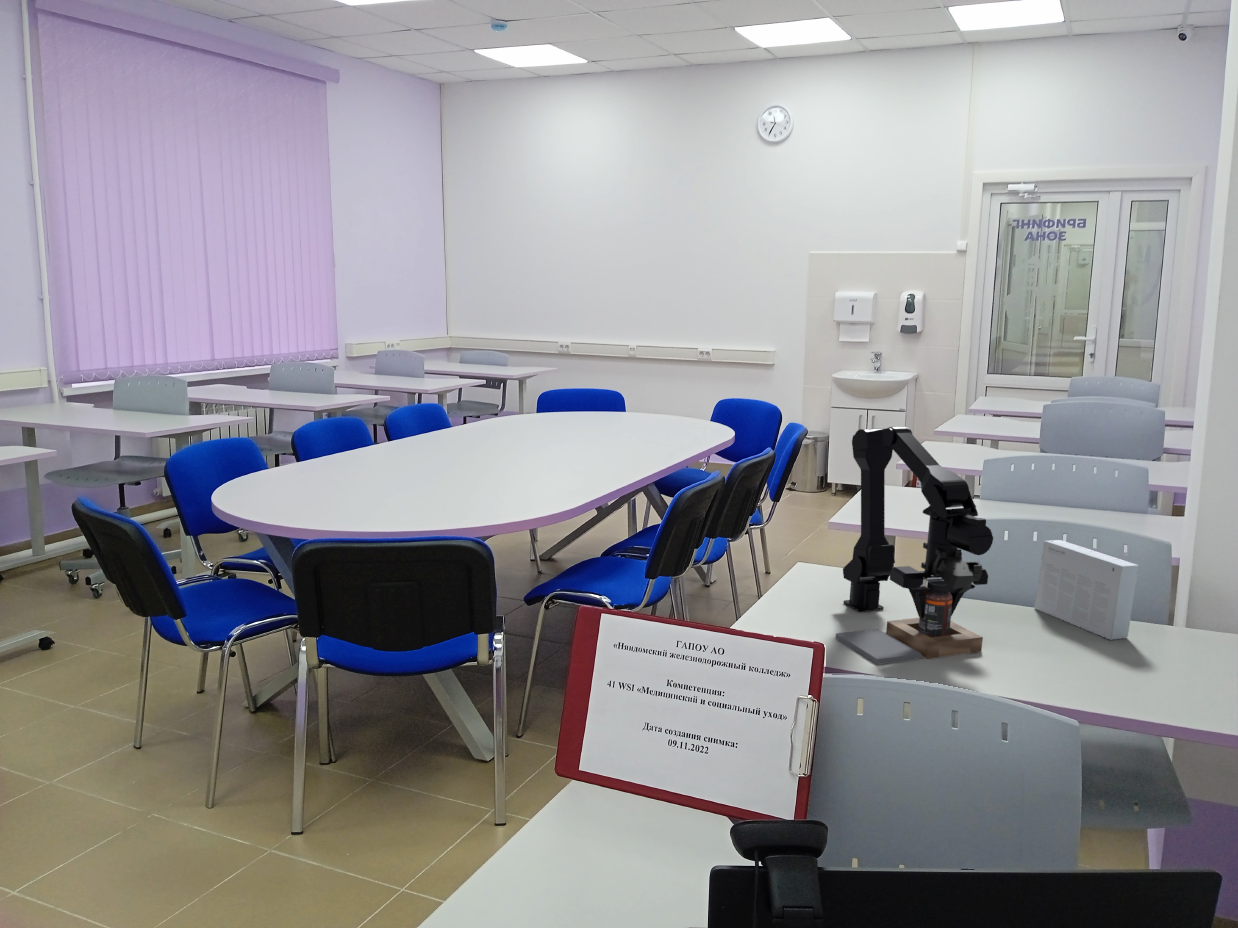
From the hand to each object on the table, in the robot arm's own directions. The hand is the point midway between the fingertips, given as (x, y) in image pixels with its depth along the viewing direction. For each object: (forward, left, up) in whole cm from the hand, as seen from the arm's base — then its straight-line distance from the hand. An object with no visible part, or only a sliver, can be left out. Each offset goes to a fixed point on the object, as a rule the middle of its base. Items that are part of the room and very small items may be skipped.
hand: (935, 616), depth 195 cm
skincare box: (-1, +40, -6) cm, 40 cm away
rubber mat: (-1, -12, -6) cm, 14 cm away
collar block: (0, 0, -6) cm, 6 cm away
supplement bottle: (0, 0, -4) cm, 4 cm away
